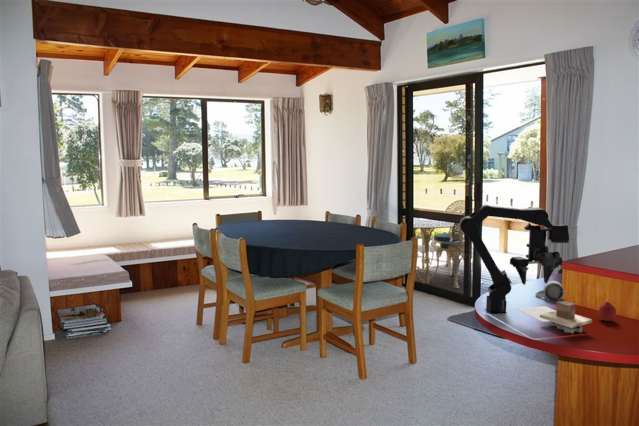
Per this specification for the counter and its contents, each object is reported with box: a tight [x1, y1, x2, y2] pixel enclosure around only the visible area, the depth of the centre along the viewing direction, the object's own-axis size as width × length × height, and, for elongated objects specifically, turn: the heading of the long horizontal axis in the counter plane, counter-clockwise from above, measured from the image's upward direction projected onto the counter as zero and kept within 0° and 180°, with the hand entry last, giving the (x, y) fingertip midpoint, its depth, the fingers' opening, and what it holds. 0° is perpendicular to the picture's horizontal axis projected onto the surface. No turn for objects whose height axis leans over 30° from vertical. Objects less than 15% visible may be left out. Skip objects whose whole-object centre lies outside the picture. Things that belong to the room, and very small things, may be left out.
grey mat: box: [515, 305, 556, 323], centre depth 206 cm, size 13×16×1 cm
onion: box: [597, 299, 617, 322], centre depth 198 cm, size 6×6×8 cm
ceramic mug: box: [535, 280, 565, 302], centre depth 227 cm, size 11×8×8 cm
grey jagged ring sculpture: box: [550, 321, 586, 336], centre depth 190 cm, size 11×8×4 cm
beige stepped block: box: [540, 299, 593, 329], centre depth 190 cm, size 10×13×6 cm
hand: (534, 283), depth 204 cm, fingers open, 9 cm apart
